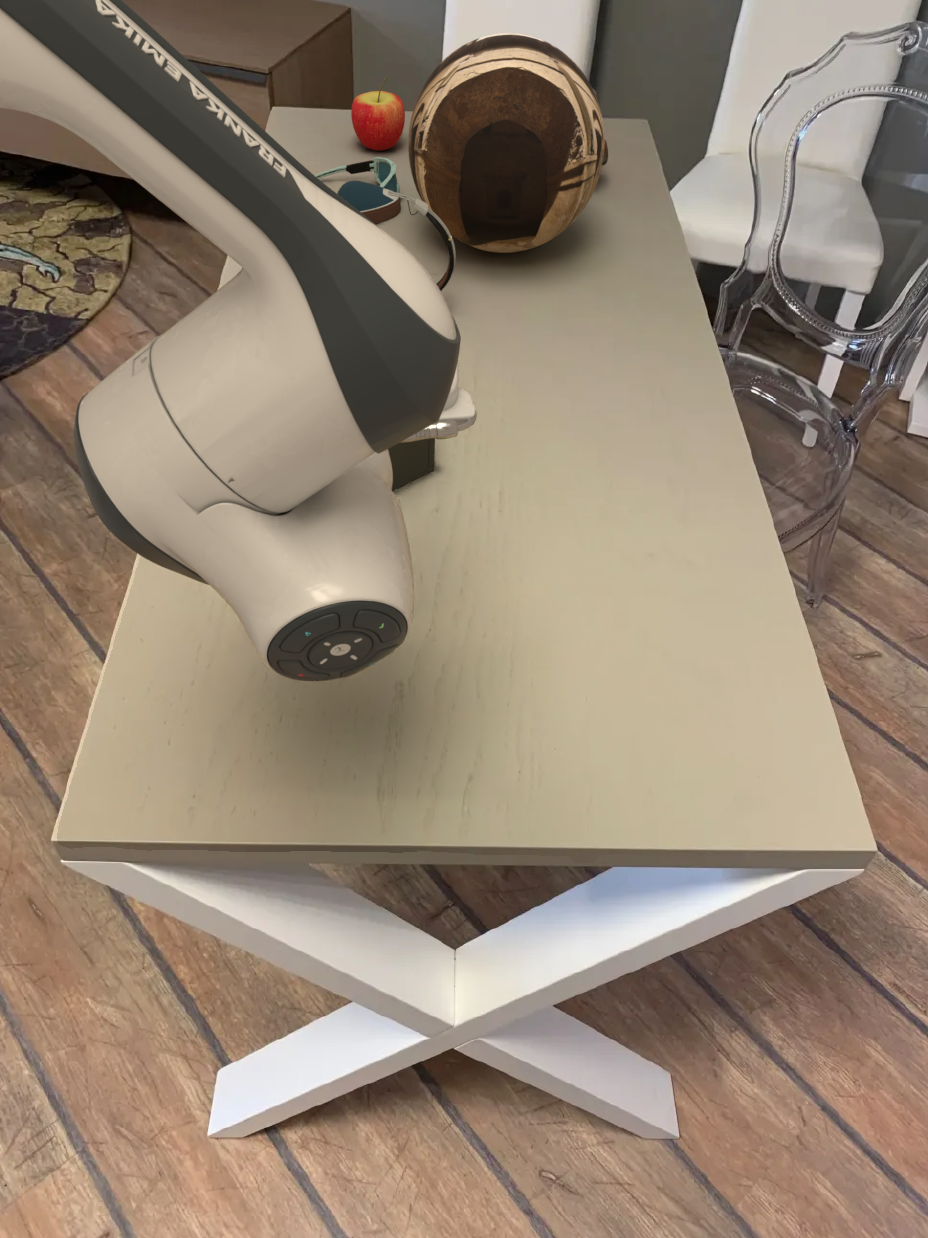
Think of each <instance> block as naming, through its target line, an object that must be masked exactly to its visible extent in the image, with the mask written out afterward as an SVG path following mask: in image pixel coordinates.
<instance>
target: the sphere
mask: <svg viewBox="0 0 928 1238" xmlns="http://www.w3.org/2000/svg"><path fill="white" fill-rule="evenodd" d="M593 89H594V88H593V86H592V85H591V83H590V80H589V79H588V78H587V76H586V75H585V73H584V72H583V70H582V69H581V68H580V67H579V66H578V64H577V63H576V62H575V61H574V60H573V59H572V58H571V57H570V56H569V55H568V54H566V53H565V52H564V51H562V50H561V49H560V48H559V47H557V46H555V45H553V44H552V43H549V42H548V41H545V40H543V39H541V38H538V37H535V36H532V35H528V34H522V33H513V32H505V33H502V32H501V33H494V34H493V33H492V34H490V35H489V34H488V35H485V36H481V37H479V38H476V39H472V40H471V41H469V42H467V43H465V44H463V45H461V46H460V47H458V48H457V49H455V50H454V51H452V52H451V53H450V54H449V55H447V56H446V57H445V58H444V59H443V60H442V61H441V62H440V63H439V64H438V65H437V66H436V68H434V70H433V71H432V72H431V74H430V75H429V76H428V78H427V79H426V81H425V82H424V84H423V86H422V88H421V90H420V92H419V94H418V97H417V99H416V101H415V104H414V106H413V110H412V114H411V117H410V121H409V122H410V123H409V130H408V140H407V148H408V149H407V151H408V162H409V168H410V173H411V176H412V181H413V183H414V186H415V189H416V192H417V194H418V195H419V199H420V200H421V201H423V202H425V203H427V204H428V208H429V209H430V210H432V211H433V212H434V213H435V214H436V215H437V216H438V217H439V218H440V219H441V220H442V222H443V223H444V224H445V226H446V227H447V229H448V230H449V232H450V234H451V236H452V238H455V239H456V240H458V241H459V242H461V243H463V244H465V245H468V246H470V247H473V248H475V249H477V250H482V251H485V252H490V253H498V254H499V253H501V254H502V253H503V254H504V253H505V254H508V253H519V252H523V251H529V250H530V249H534V248H537V247H540V246H542V245H544V244H546V243H548V242H549V241H552V240H553V239H555V238H556V237H557V236H559V235H560V234H562V233H563V232H564V231H566V229H568V228H569V227H570V226H571V225H572V224H573V223H574V222H575V221H576V219H577V218H578V217H579V216H580V214H581V213H582V212H583V211H584V209H585V208H586V207H587V204H588V203H589V201H590V199H592V198H591V197H592V195H593V193H594V191H595V189H596V187H597V184H598V182H599V179H600V175H601V171H602V167H603V166H602V163H603V157H604V144H605V140H606V138H605V127H604V120H603V114H602V110H601V106H600V103H599V100H598V96H597V97H596V95H595V93H594V91H595V89H594V90H593Z"/></svg>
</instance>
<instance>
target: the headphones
mask: <svg viewBox="0 0 928 1238" xmlns="http://www.w3.org/2000/svg"><path fill="white" fill-rule="evenodd" d="M336 193H337V194H338V195H339V196H341V197H342V198H343V199H344V200H346V201H347V202H348V203H350V204H351V205H352V206H353V207H355V208H356V209H357V210H359V211H360V212H361V213H362V214H364V215H365V216H366V217H367V218H368V219H370V220H371V221H372V222H373V223H375V224H376V225H379V224H382V223H386V222H387V221H388V222H389V221H390V220H392V219H395V218H396V217H397V216H399V215H400V213H401V211H402V203H401V199H403V200H406V201H407V206H408V212H409V215H411V216H415V215H417V214H418V213H420V214H421V216H423V217H426V218H427V219H428V220H429V221H430V222H431V224H432V225H433V227H434V228H435V229H436V230H437V232H438V233H439V234H440V236H441V239H442V241H444V244H445V246H446V249H447V253H448V257H449V258H448V265H447V269H446V270H445V272H444V274H443V276H442V277H441V278H440V280H439V281H438V282H437V283H436V284H437V286H438V287H439V289H440V291H441V293H443V292H442V291H443V289H444V288H445V287H446V286H447V285H448V283H449V282H450V280H451V278H452V275H453V274H454V270H455V266H456V246H455V242H454V238H453V236H452V235H451V234H450V232H449V230H448V229H447V227H446V226H445V224H444V223H443V222H442V220H441V219H440V218H439V217H438V216H437V215H436V214H435V213H434V212H433V211H432V210H430V209H429V208H428V204H427V203H425V202H423V201H422V200H421V198H416V199H414V198H413V197H410V196H409V195H405V194H403V193H400V192H399V193H396V192H393V191H390V190H388V189H386V188H383V187H380V185H377V184H375V183H371V182H367V181H363V180H349V181H346V182H344V183H343V184H342V185H341V186H340V187H339V189H338V190H337V192H336ZM410 203H412V204H414V205H413V207H414V209H415V210H417V211H416V212H415V213H412V211H411V208H410Z"/></svg>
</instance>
